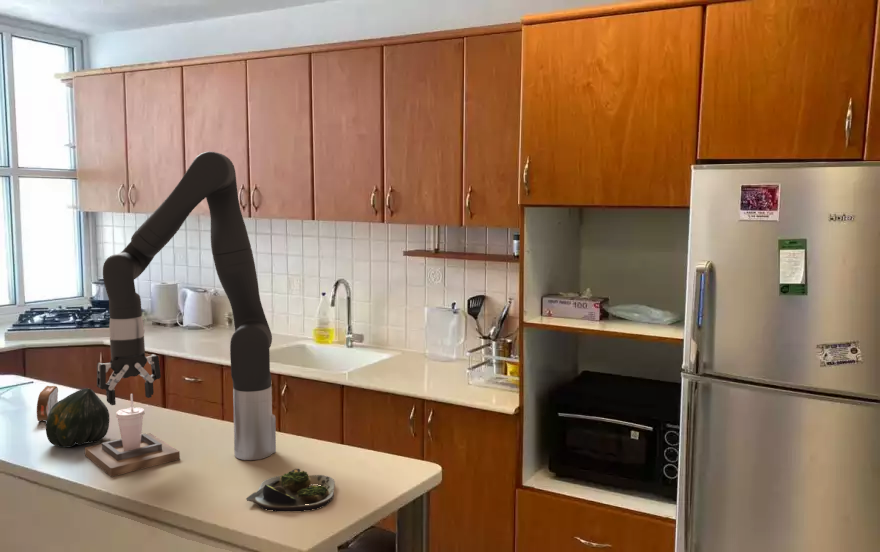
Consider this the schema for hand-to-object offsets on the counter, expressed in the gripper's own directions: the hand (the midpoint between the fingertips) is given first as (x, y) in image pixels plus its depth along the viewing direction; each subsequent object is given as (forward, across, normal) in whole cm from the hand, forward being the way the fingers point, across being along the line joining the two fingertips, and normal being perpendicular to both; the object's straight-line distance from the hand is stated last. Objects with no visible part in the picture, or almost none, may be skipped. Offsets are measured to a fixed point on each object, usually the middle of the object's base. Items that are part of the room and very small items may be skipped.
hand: (130, 400), depth 168 cm
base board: (+14, 0, 0) cm, 14 cm away
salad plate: (+16, -17, +46) cm, 51 cm away
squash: (+14, +6, -20) cm, 26 cm away
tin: (+14, +6, -49) cm, 51 cm away
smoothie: (+12, 0, 0) cm, 12 cm away
